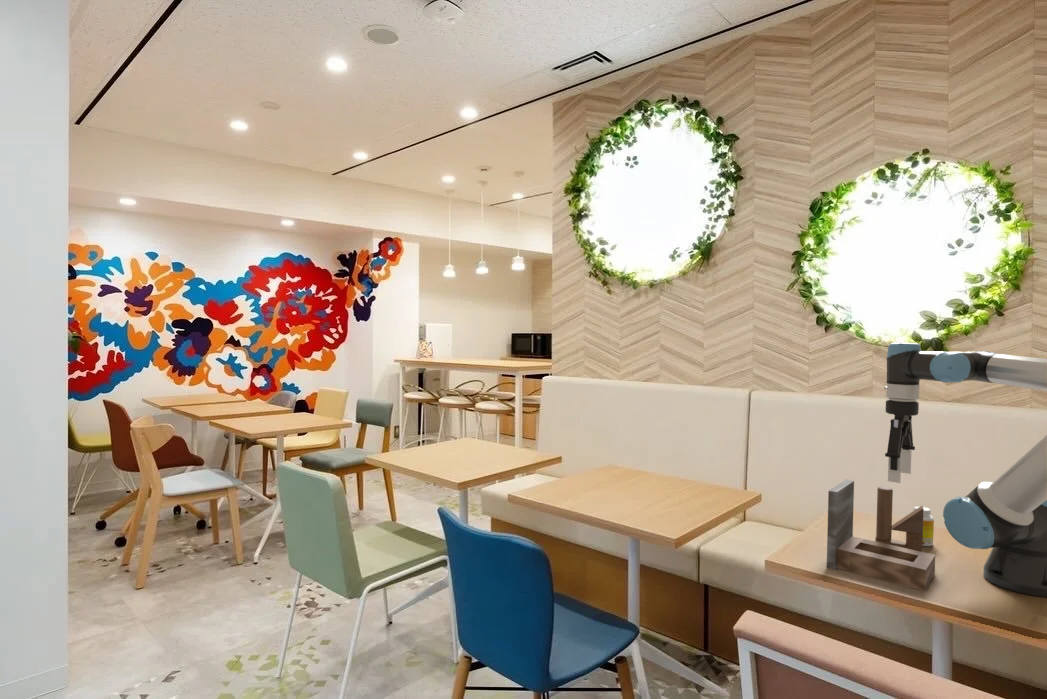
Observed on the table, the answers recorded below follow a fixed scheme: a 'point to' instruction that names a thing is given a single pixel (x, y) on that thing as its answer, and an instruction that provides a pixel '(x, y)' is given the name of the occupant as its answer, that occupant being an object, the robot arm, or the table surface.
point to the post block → (870, 547)
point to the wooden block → (898, 523)
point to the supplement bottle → (927, 527)
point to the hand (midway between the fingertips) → (899, 477)
